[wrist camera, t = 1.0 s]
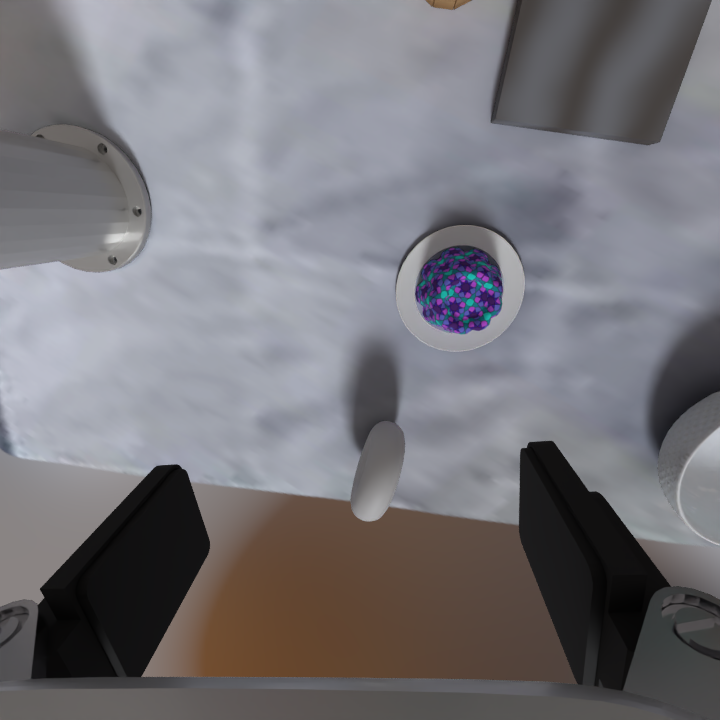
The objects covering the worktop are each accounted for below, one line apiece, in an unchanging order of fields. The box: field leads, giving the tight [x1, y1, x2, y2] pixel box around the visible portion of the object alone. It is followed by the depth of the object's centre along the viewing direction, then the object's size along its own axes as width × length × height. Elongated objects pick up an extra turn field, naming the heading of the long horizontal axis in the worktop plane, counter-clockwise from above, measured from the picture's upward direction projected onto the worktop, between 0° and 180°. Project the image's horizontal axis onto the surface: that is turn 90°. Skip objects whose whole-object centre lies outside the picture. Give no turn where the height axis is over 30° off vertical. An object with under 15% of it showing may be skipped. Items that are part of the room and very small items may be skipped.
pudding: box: [396, 225, 525, 351], centre depth 35 cm, size 12×12×5 cm
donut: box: [351, 421, 405, 521], centre depth 39 cm, size 10×4×10 cm, turn 163°
